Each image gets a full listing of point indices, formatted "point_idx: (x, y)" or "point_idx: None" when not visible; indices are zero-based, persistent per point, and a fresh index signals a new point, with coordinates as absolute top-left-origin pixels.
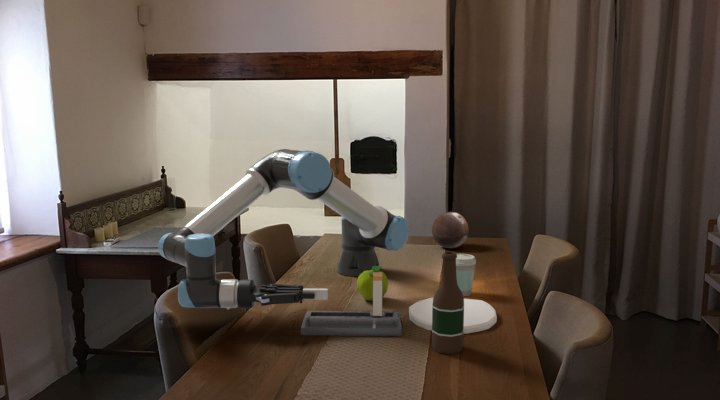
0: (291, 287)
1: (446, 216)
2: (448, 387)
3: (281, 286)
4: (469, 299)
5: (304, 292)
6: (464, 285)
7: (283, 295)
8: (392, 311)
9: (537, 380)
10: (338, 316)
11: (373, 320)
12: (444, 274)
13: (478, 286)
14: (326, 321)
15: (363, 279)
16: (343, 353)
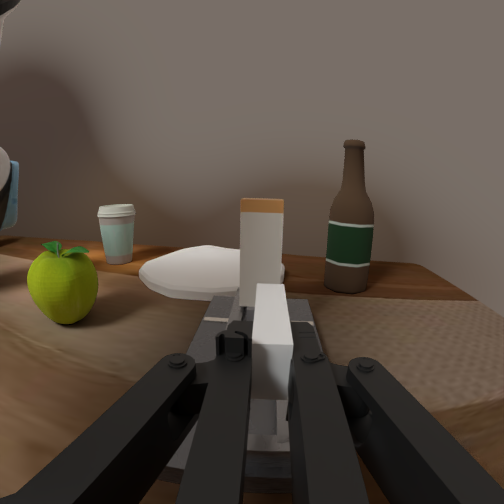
0: (163, 411)
1: None
2: (451, 290)
3: (103, 478)
4: (175, 252)
5: (293, 352)
6: (131, 244)
7: (438, 430)
8: (238, 290)
9: (395, 262)
10: None
11: None
12: (363, 171)
13: (104, 252)
14: None
15: (64, 273)
16: (433, 371)
